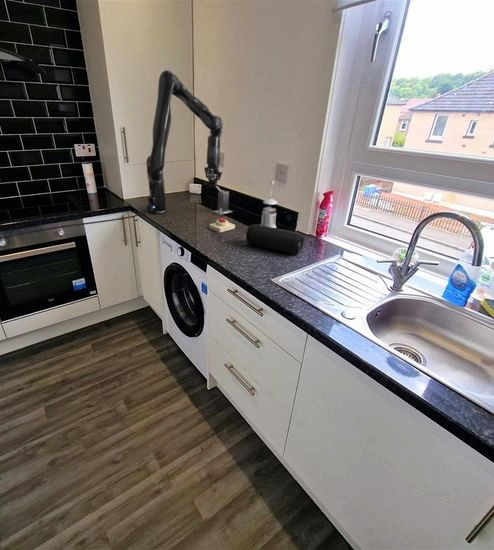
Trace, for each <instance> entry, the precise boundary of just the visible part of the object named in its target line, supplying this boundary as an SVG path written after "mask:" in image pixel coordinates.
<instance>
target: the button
mask: <svg viewBox="0 0 494 550" xmlns="http://www.w3.org/2000/svg"><path fill="white" fill-rule="evenodd" d="M218 220H219V222H221V223H224V222H226V220H227V219H226V218H225V217H219V218H218Z"/></svg>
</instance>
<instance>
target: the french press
mask: <svg viewBox="0 0 494 550" xmlns="http://www.w3.org/2000/svg"><path fill="white" fill-rule="evenodd" d="M270 184H271V185H273V184H275V181H274V180H271V181H270ZM270 191H271V192H270V195H272V194H273V189H271V190H270ZM262 203H263V204H264V205H269V206H266V207H263V210H262V212H261V222H260V224H259V225H263V226H268V227H273V228H277V225H276V219H277V209H276V208H275V207H274V208H273V207H271V206H274V205H277V204H278V201H277V200H275V199H272V198H267V199H264V200H263V201H262Z"/></svg>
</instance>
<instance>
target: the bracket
mask: <svg viewBox="0 0 494 550" xmlns="http://www.w3.org/2000/svg"><path fill="white" fill-rule="evenodd" d="M221 190H222V191H224V192H223V194H222V196H221V195H220V194H221V192H220V191H219V190H218V191H217V210H212V212H214V213H216V214H218V215H225V214H230V213H233V212H234V211H233V210H230V209H229V199H230V198H229V197H230V191H228V190H227V191H225V190H224V189H221Z"/></svg>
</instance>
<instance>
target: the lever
mask: <svg viewBox="0 0 494 550" xmlns="http://www.w3.org/2000/svg"><path fill="white" fill-rule="evenodd" d="M210 184H211V185H212V186H213V178H212V180H210ZM215 189H216V190H218V191H220V192H221V194H220V195H221V196H222V194H223V192H224V191H222V190H223V189H221V188H220V186H218V185H217V187H215Z"/></svg>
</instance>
